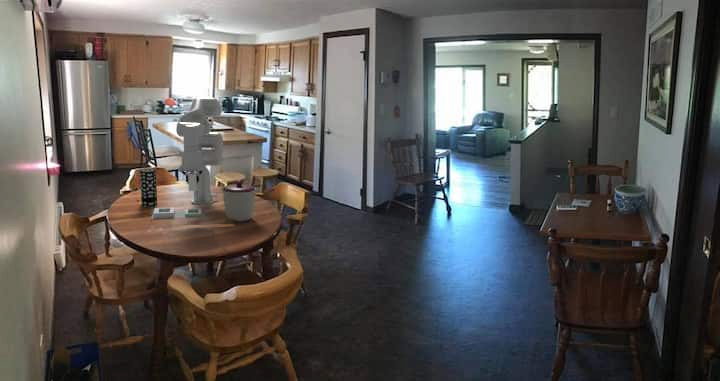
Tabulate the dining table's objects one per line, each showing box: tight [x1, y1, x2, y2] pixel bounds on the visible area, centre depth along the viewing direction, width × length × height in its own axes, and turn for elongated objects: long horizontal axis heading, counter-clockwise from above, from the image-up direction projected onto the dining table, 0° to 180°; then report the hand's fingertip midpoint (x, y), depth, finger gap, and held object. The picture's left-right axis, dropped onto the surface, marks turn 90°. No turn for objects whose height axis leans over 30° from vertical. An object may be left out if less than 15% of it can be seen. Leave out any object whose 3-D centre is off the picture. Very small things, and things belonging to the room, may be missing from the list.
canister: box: [221, 180, 258, 223], centre depth 280 cm, size 18×18×21 cm
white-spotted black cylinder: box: [139, 168, 158, 208], centre depth 301 cm, size 8×8×20 cm
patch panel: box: [150, 206, 205, 222], centre depth 281 cm, size 26×14×4 cm, turn 107°
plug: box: [187, 171, 197, 192], centre depth 280 cm, size 4×6×10 cm, turn 17°
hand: (192, 182), depth 280 cm, fingers closed on plug, 4 cm apart
